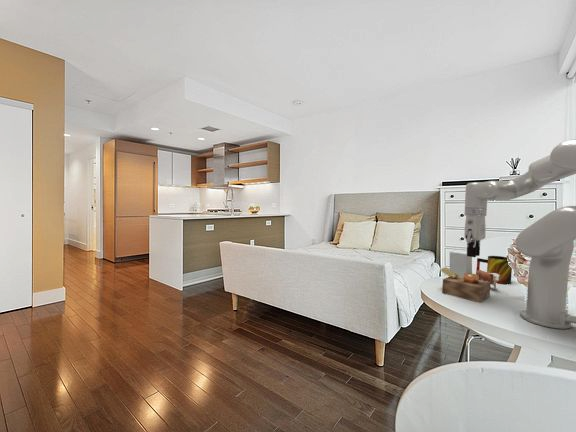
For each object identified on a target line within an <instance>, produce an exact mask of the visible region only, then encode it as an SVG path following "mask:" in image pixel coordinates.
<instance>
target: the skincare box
mask: <svg viewBox="0 0 576 432" xmlns="http://www.w3.org/2000/svg"><path fill="white" fill-rule="evenodd" d="M449 270H451V271H452V272H454V273H456V274H458V276H463V277H464V273H472V274H473V257H469V256H467V251H462V250H461V251H459V250H452V251H449Z"/></svg>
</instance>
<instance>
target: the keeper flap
mask: <svg viewBox="0 0 576 432" xmlns="http://www.w3.org/2000/svg"><path fill="white" fill-rule="evenodd" d="M440 271H441V272H442V273H443V274H445V275H446V276H447V277H451V278H452V279H454V278H456V277H458V274H456V273H454V272H452V271H451V270H450V268H447V266H445V267H443V268H441V269H440Z"/></svg>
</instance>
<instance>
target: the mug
mask: <svg viewBox="0 0 576 432" xmlns="http://www.w3.org/2000/svg"><path fill="white" fill-rule="evenodd" d="M507 257H508V256H507ZM507 257H506V256H501V255H500V256H499V255H488V256H487V259H486V258H485V259H484V258H479V257H477V258H476V270H475V271H477V270H481V269H480V267H481V266H480V265H481V264H480V263H485V264H487V269H486V272H488V273H496V274H499V275H502V277H499V281H497V282H496V283H497V284H498V285H506V286H507V284H508V285H511V284H512V273H513V272H512V270H513V267H512V268H511V267H510V266H509V265H508V261H507ZM497 284H496V285H497Z"/></svg>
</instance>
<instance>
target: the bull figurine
mask: <svg viewBox="0 0 576 432" xmlns="http://www.w3.org/2000/svg"><path fill="white" fill-rule="evenodd" d="M475 271H476V270H475ZM475 274H477V275H479V280H482V281H487V282H491V284H490V286H493V289H494V290H495V291H498V289H497V284H496V282H497V281H499V277H502V275H499V274H496V273H488V272H487V271H484V270H482V269H480V270H477V271H476V272H475Z"/></svg>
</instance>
